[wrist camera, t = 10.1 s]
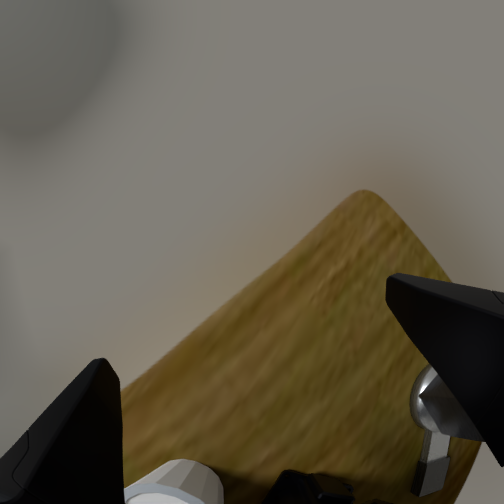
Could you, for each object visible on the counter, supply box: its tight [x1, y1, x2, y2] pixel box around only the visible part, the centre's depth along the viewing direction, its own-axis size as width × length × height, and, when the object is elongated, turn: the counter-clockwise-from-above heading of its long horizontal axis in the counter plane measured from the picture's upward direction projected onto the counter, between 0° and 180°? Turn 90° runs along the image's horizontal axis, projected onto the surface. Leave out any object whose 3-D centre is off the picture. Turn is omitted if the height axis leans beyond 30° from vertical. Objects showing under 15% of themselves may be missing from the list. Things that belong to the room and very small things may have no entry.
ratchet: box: [410, 364, 450, 497], centre depth 15 cm, size 13×7×4 cm, turn 175°
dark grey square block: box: [418, 374, 485, 442], centre depth 12 cm, size 5×5×11 cm
